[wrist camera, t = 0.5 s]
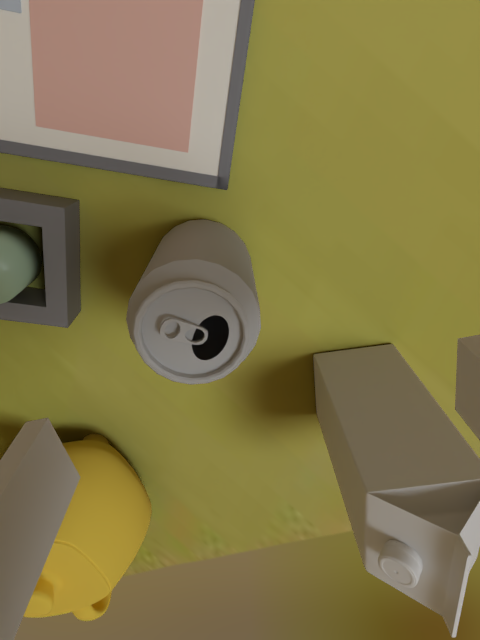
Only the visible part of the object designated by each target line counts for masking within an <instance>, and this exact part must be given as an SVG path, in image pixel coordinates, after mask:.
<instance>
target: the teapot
mask: <svg viewBox="0 0 480 640" xmlns="http://www.w3.org/2000/svg"><path fill="white" fill-rule="evenodd" d="M62 444H63V446H64V448H65V450H66V452H67V453H68V455H69V457H70V459H71V461H72V462H73V464H74V466H75V468H76V470H77V472H78V473H79V475H80V480H79V482H78V485H77V487H76V489H75V492H74V494H73V497H72V499H71V502H70V504H69V506H68V509H67V511H66V514H65V516H64V519H63V521H62V523H61V526H60V528H59V531H58V533H57V536H56V538H55V540H54V543H53V545H52V548H51V550H50V553H49V555H48V557H47V560H46V562H45V565H44V567H43V570H42V572H41V574H40V577H39V579H38V582H37V584H36V587H35V589H34V591H33V594H32V596H31V599H30V601H29V604H28V606H27V608H26V611H25V613H24V616H23V617H33V618H35V617H48V616H55V615H60V614H65V613H69V612H72V613H73V614H74V615H75V617H76V618H78V619H79V620H82V621H91V620H94V619H97V618H99V617H100V616H102V615H103V614H104V613H105V612H106V610H107V608H108V606H109V603H110V598H111V592H112V589H113V588H114V587H115V585H116V584H117V583H118V582H119V580H120V579H121V577H122V576H123V574H124V573H125V571H126V570H127V568H128V567H129V566H130V564H131V562H132V561H133V559H134V558H135V556H136V554H137V552H138V550H139V548H140V546H141V544H142V542H143V540H144V537H145V535H146V532H147V529H148V526H149V523H150V518H151V513H152V510H151V502H150V500H149V497H148V495H147V492H146V490H145V488H144V486H143V484H142V482H141V481H140V479H139V477H138V475H137V474H136V472H135V471H134V469H133V468H132V467H131V466H130V464H129V463H128V462H127V461H126V459H125V458H124V457H123V456H122V455H121V454H120V453H119V452H118V451H117V450H116V449H115V448H113V447H112V446H110V445H109V442H108V440H107V439H106V438H105V437H104V436H102V435H100V434H89V435H87V436H85V437H84V439H83V440H81V441H72V442H66V443H62Z"/></svg>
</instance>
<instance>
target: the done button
mask: <svg viewBox="0 0 480 640" xmlns="http://www.w3.org/2000/svg"><path fill="white" fill-rule="evenodd" d="M41 269H42V257H41V253H40V251H39V249H38V247H37V245H36V244H35V242H34V241H33V240H32V239H31V238H30V237H29V236H28V235H27V234H25V233H24V232H22V231H21V230H19V229H17V228H14V227H11V226H6V225H0V304H2V303H6V302H8V301H10V300H11V299H12V298H14V297H15V296H16V295H17V294H18V293H20V292H21V291H22V290H23V289H25V288H26V287H27V286H28V285H29V284H31V283H32V282H33V281H34V280H35V279H36V278H37V277H38V276H39V274H40V272H41Z"/></svg>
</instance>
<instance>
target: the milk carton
mask: <svg viewBox="0 0 480 640" xmlns="http://www.w3.org/2000/svg"><path fill="white" fill-rule="evenodd" d="M313 362H314V379H315V396H316V412H317V417H318V420H319V423H320V427H321V430H322V433H323V436H324V440H325V443H326V446H327V449H328V452H329V456H330V459H331V462H332V465H333V468H334V472H335V475H336V478H337V481H338V484H339V488H340V491H341V494H342V497H343V500H344V504H345V507H346V510H347V513H348V516H349V520H350V523H351V526H352V529H353V532H354V536H355V539H356V542H357V545H358V548H359V552H360V555H361V558H362V561H363V564H364V567H365V569H366V570H367V571H368V572H369V573H371V574H372V575H374V576H376V577H377V578H379V579H381V580H382V581H384V582H386V583H387V584H389V585H391V586H392V587H394V588H396V589H397V590H399V591H401V592H403V593H404V594H406V595H408V596H409V597H411V598H413V599H414V600H416V601H418V602H419V603H421V604H423V605H425V606H426V607H428V608H429V609H431V610H433V611H435V612H436V613H438V614H440V615H441V616H443V618H444V621H445V623H446V625H447V627H448V630H449V632H450V634H451V636H452V637H456V632H457V628H458V623H459V618H460V614H461V609H462V604H463V599H464V594H465V589H466V584H467V579H468V574H469V571H470V569H471V568H472V566H473V564H474V562H475V560H476V558H477V555H478V551H479V547H480V459H479V457H478V456H477V455H476V453H475V452H474V451H473V449H472V448H471V447H470V446H469V444H468V443H467V442H466V440H465V439H464V438H463V436H462V435H461V434H460V432H459V431H458V430H457V428H456V427H455V426H454V424H453V423H452V422H451V420H450V419H449V418H448V416H447V415H446V414H445V412H444V411H443V410H442V408H441V407H440V406H439V404H438V403H437V402H436V400H435V399H434V398H433V396H432V395H431V394H430V392H429V391H428V390H427V388H426V387H425V386H424V384H423V383H422V382H421V381H420V379H419V378H418V377H417V375H416V374H415V373H414V371H413V370H412V369H411V367H410V366H409V365H408V363H407V362H406V361H405V359H404V358H403V357H402V355H401V354H400V353H399V351H398V350H397V349H396V347H395V346H394V345H393V344H388V345H380V346H372V347H364V348H357V349H349V350H341V351H334V352H326V353H319V354H314V355H313Z"/></svg>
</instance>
